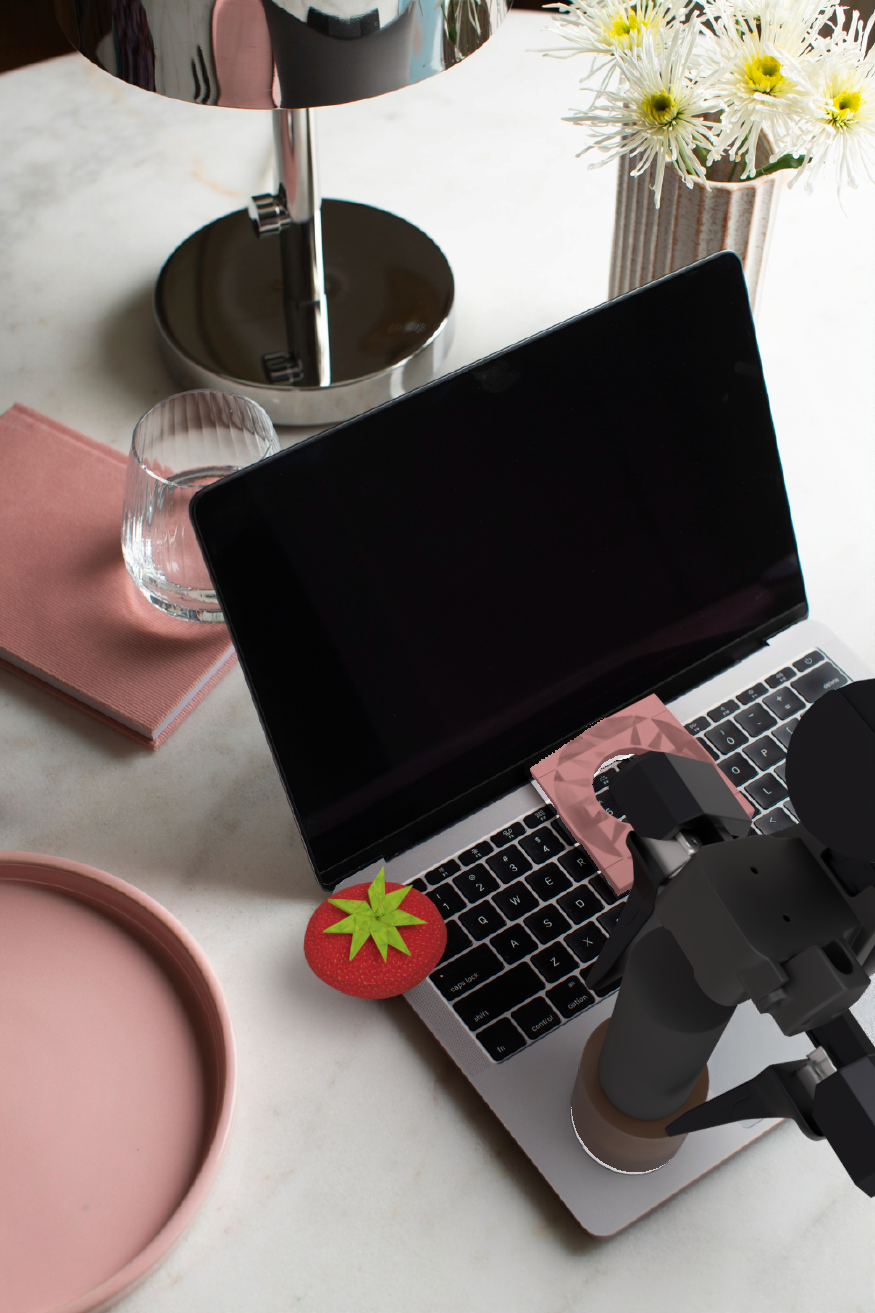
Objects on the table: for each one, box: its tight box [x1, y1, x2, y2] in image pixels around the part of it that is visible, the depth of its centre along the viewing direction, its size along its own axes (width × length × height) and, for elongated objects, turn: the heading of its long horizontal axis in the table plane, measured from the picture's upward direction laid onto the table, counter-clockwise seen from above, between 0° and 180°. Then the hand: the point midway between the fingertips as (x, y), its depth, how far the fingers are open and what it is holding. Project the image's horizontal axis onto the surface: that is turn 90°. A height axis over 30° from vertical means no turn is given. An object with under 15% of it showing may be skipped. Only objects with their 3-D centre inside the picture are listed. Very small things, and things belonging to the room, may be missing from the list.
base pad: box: [530, 693, 756, 896], centre depth 69 cm, size 10×10×2 cm
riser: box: [570, 1016, 710, 1172], centre depth 56 cm, size 6×6×7 cm
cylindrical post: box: [598, 926, 739, 1121], centre depth 48 cm, size 4×4×12 cm
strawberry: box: [302, 865, 448, 1000], centre depth 60 cm, size 6×8×10 cm
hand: (629, 1057), depth 50 cm, fingers open, 7 cm apart
